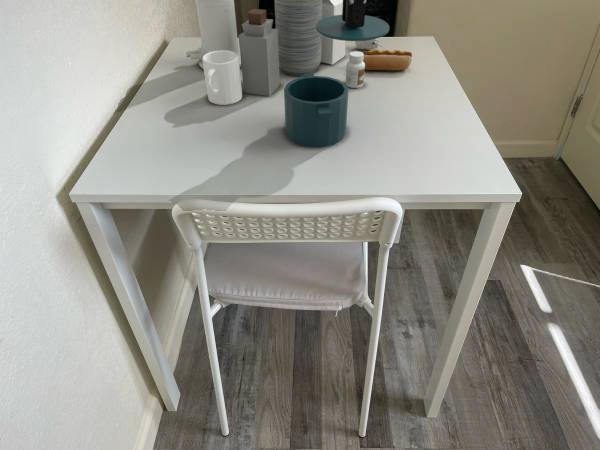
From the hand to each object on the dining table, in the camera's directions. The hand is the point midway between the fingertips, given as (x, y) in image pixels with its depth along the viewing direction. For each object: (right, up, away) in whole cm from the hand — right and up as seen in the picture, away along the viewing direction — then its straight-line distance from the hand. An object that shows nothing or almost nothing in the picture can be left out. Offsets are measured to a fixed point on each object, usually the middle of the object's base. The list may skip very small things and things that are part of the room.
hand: (352, 22), depth 85 cm
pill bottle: (+4, -3, +30) cm, 30 cm away
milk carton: (-2, +9, +43) cm, 43 cm away
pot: (-7, -18, +12) cm, 22 cm away
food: (+12, +4, +37) cm, 39 cm away
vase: (-10, +4, +37) cm, 38 cm away
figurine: (+10, +13, +47) cm, 50 cm away
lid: (0, -1, +1) cm, 1 cm away
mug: (-28, -8, +23) cm, 38 cm away
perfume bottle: (-19, -4, +28) cm, 34 cm away
